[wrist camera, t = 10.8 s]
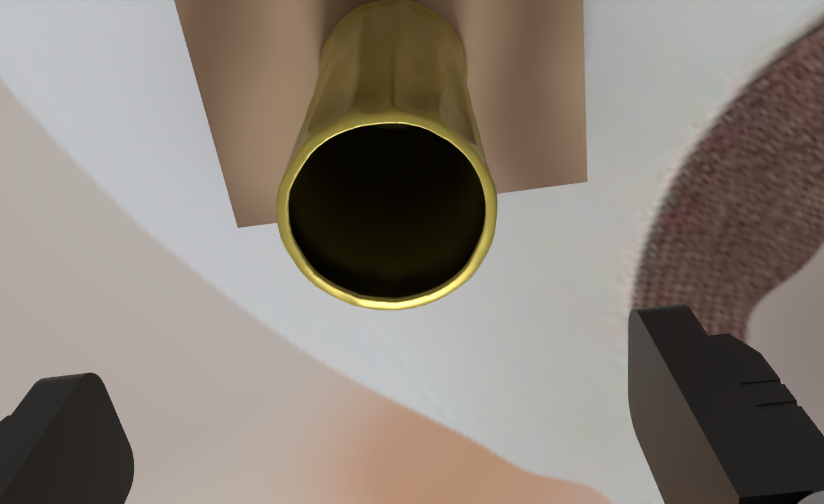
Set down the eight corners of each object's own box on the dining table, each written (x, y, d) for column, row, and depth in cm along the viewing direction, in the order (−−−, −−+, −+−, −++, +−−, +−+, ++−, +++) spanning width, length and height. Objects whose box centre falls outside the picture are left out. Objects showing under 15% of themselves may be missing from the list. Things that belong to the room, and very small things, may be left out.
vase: (292, 38, 28) (205, 159, 16) (430, -30, 27) (457, 41, 15) (360, 167, 31) (332, 360, 18) (489, 109, 30) (554, 273, 17)
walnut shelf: (553, -118, 30) (579, -119, 26) (564, 145, 36) (587, 181, 31) (193, -62, 31) (159, -54, 27) (258, 186, 37) (237, 227, 32)
